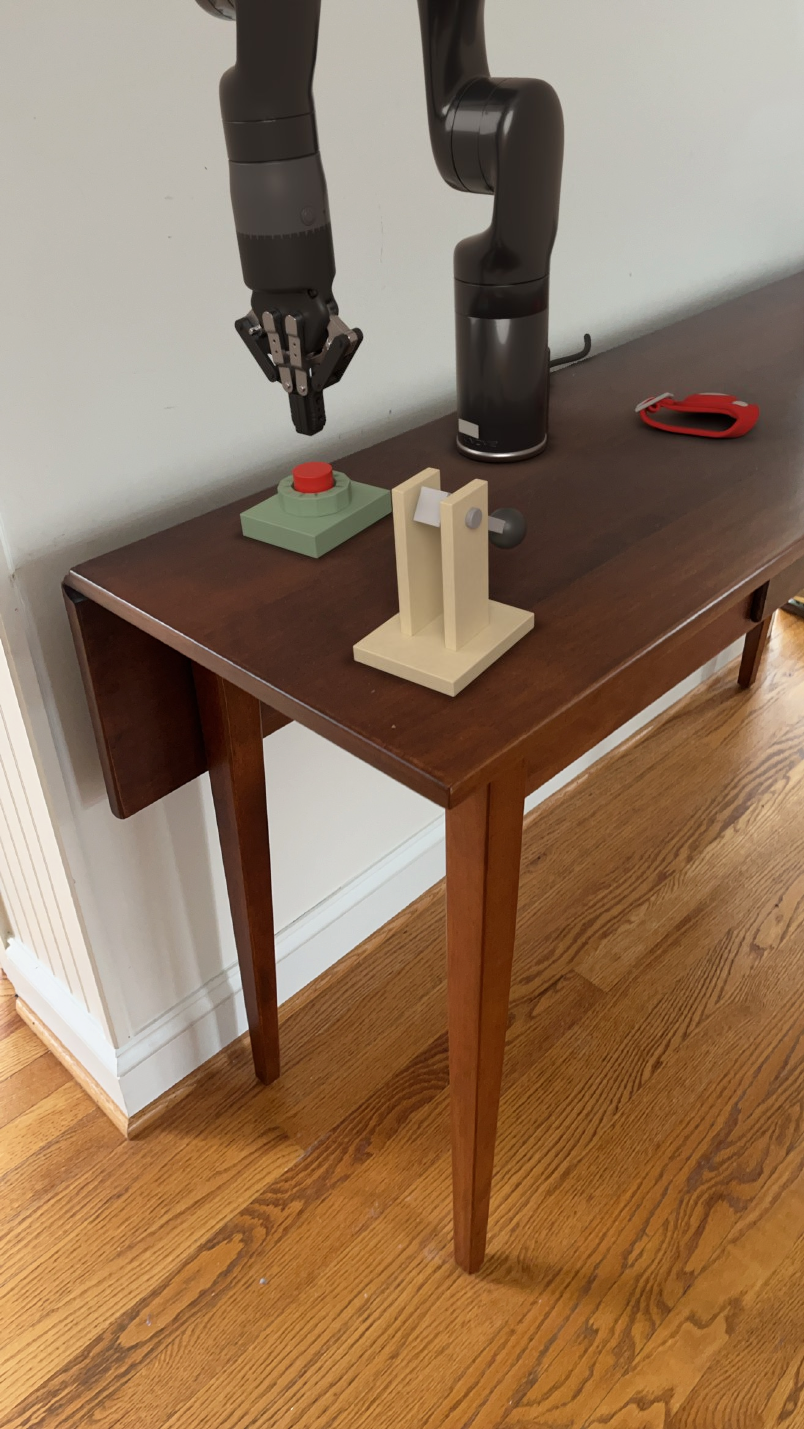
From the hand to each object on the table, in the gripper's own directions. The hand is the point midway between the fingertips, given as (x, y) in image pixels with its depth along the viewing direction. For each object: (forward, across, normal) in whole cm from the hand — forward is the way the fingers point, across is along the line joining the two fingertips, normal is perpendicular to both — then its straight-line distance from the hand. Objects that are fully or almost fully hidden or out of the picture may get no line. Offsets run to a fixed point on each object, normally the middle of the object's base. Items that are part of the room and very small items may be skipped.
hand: (310, 431), depth 91 cm
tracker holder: (+10, -20, -38) cm, 44 cm away
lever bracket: (+8, -22, +11) cm, 26 cm away
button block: (+9, 0, +1) cm, 9 cm away
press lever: (+2, -22, +8) cm, 24 cm away
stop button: (+5, 0, +1) cm, 5 cm away
